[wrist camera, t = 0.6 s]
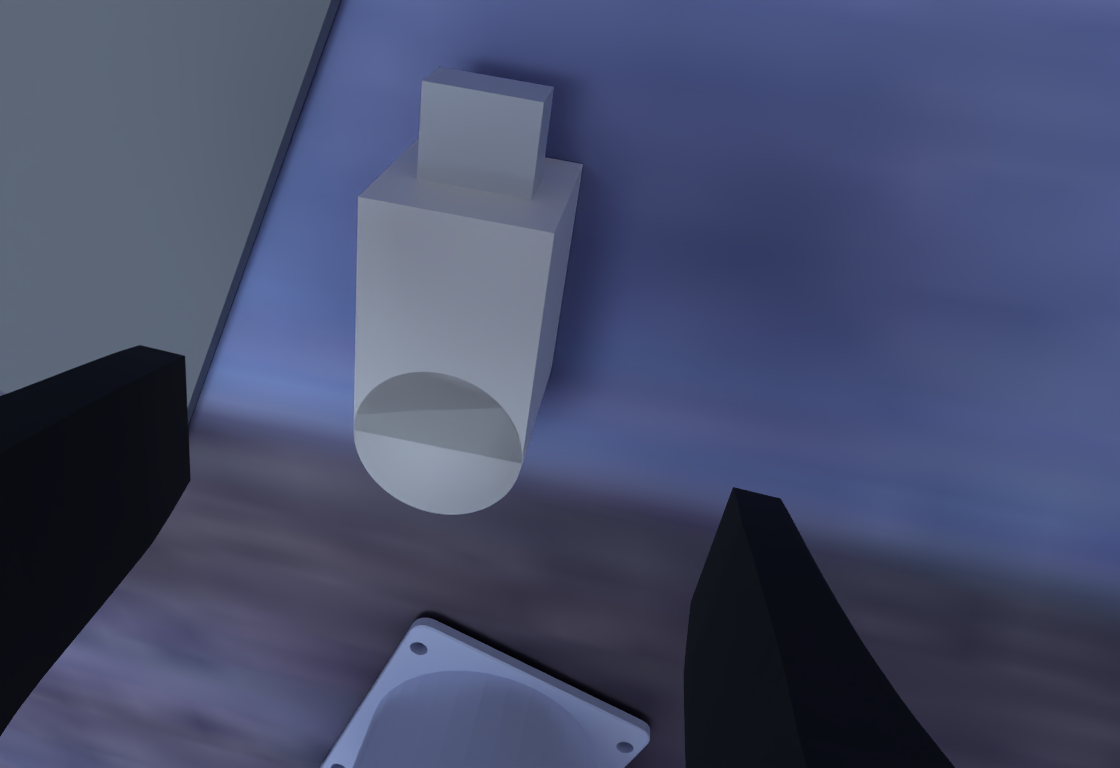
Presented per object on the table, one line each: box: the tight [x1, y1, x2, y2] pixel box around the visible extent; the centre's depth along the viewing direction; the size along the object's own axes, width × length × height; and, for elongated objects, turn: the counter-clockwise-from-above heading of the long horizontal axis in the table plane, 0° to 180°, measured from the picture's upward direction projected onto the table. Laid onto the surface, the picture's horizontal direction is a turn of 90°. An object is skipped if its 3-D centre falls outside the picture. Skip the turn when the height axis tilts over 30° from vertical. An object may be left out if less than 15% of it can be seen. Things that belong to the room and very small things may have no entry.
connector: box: [354, 67, 583, 515], centre depth 19 cm, size 9×4×4 cm, turn 173°
